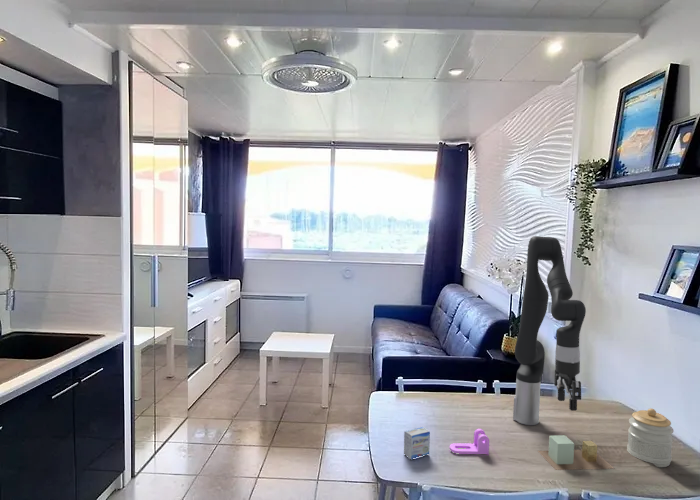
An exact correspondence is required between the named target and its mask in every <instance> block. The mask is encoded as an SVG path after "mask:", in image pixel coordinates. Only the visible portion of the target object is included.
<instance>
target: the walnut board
mask: <svg viewBox="0 0 700 500" xmlns="http://www.w3.org/2000/svg"><path fill="white" fill-rule="evenodd" d="M537 452H538V453H539V454H540V455H541V456H542V457H543V458H544V459H545V461H547V462H548V464H549V465H550V466H551V467H552V469H554V471H564V470H565V471H567V470H570V471H571V470H573V471H574V470H606V469H607V470H609V469H613V470H614V469H615V468H614V466H612V465H611V464H610V463H609V462H608V461H607V460H605V459H604V457H602V456H601V455H600V454H598V453H597V460H596V461H593V462H587V461H586V460H585V459H584V458H583V457H582V449H574V458H573V464H556V463H555V462H554V461H553V460H552V459H551V458H550V457H549V456H548V452H549V450H537Z"/></svg>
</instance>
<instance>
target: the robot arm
mask: <svg viewBox="0 0 700 500" xmlns="http://www.w3.org/2000/svg"><path fill="white" fill-rule="evenodd" d="M562 250H563V249H562V246H561V242H560V241H559V239H558V238H556V237H551V236H550V237H549V236H536V235H535V236H531V237H530V239H529V241H528V245H527V252H526V253H527V254H526V255H527V256H526V257H527V258H526V259H527V260H526V273H525V275H526V276H525V283H524V289H523V296H522V303H521V304H522V305H521V312H520V313H521V314H520V321H519V330H518V335H517V339H516V342H515V345H514V346H515V347H514V355H515V359H516V360H517V362H518V363H519V364H520V365H519V367H518V369H517V371H516V380H515V395H514V397H513V410H512V420H513V421H516V422H517V423H519V424H522V425H526V426H536V425H538V424H539V422H540V404H541V383H542V382H541V381H542V377H543V374H544V368H545V367H544V366H545V358H546V356H545V355H546V353H545V348H544V346H543V345H544V344H543V343H542V342H541V341H539V340H538V333H539V330H540V328H541V326H542V323H543V322H544V319H545V316H546V314H547V309H548V304H549V303H548V302H549V296H550V298H551V305H550V306H551V307H550V312H551V316H552V318H554V319H555V320H556V321H558V322H565V321H566V322H569V324H568V325H565V326H560V327H558V328H557V330H556V342H555V344H556V347H555V358H554V359H555V360H554V361H555V362H554V365H555V367H554V380H553V381H554V386H555V387H556V390H557V400H558V401H559V402H565V400H566V393H567V394H568V397H569V401H568V402H569V403H568V405H569V406H568V407H569V408H568V409H569V411H571V412H572V411H573V412H574V411H577V410H578V400H582V382H581V381H580V380H579V381H578V380H577V379H576V376H578V375H579V374H580V372H581V351H580V336H581V335H580V333H581V329H582V327H583V322H584V320H585V317H586V313H587V311H586V306H585V303H584V302H583V301H582V300H580V299H579V300H578V299H571V298H572V297H573V289H572V286H571V284H570V281H569V279H568V276H567V273H566V268H565V262H564V261H565V260H564V256H563V251H562ZM539 261H545V262H552V263H551V264H552V267H551V269H550V271H549V272H548V274H547V278H546V284H547V286H546V285H545V282H544V281H543V279H542V277H541V275H540V272H539ZM547 288H548V289H549V290H548V289H547ZM548 291H549V292H548ZM549 294H550V295H549Z"/></svg>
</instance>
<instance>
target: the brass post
mask: <svg viewBox="0 0 700 500" xmlns="http://www.w3.org/2000/svg"><path fill="white" fill-rule="evenodd" d="M581 450H582V457H583V458H584V459H585V460H586V461H587V462H593V461H596V460H597V454H598V445H597V444H596V443H595V442H594V441H592V440H583V441H582V446H581Z"/></svg>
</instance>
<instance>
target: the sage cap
mask: <svg viewBox="0 0 700 500" xmlns="http://www.w3.org/2000/svg"><path fill="white" fill-rule="evenodd" d="M548 436H549V437H548V438H549V439H548V451H549V452H548V456H549V457H550V458H551V459H552V460H553V461H554V462H555V463H556V464H573V458H574V450H575V443H574V442H573V440H571V439H570V438H568V437H567V435H548Z"/></svg>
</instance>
